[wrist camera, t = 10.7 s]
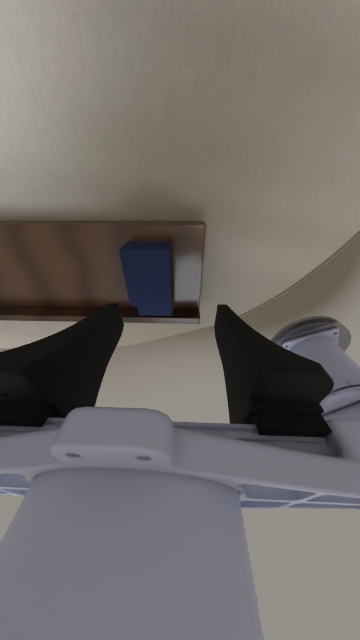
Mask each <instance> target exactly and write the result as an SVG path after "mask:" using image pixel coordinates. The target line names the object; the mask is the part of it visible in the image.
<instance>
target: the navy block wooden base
mask: <svg viewBox="0 0 360 640" xmlns="http://www.w3.org/2000/svg"><path fill="white" fill-rule="evenodd" d="M119 254H120V259H121V264H122V268H123V273H124V278H125V282H126V287H127V292H128V297H129V301H130V306H137V308H138V313H139V315H154V316H172V315H173V309H174V306H175V301H174V262H173V239H136V238H132V239H131V240H130V241H128V242H127V243H126V244H125V245H123V246H122V247H121V248H120V249H119Z"/></svg>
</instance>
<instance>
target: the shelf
mask: <svg viewBox="0 0 360 640" xmlns="http://www.w3.org/2000/svg"><path fill="white" fill-rule="evenodd" d="M205 229H206V224H205V223H204V221H0V320H18V321H76V322H79V321H81V320H83V319H84V318H86V317H88V316H89V315H91V314H93V313H94V312H96V311H97V310H99V309H100V308H102V307H104V306H105V305H107V304H109V303H118V305H119V309H120V312H121V316H122V320H123V322H134V323H192V324H200V312H199V304H200V292H201V279H202V267H203V254H204V242H205ZM132 238H136V239H173V262H174V301H175V306H174V309H173V315H172V316H154V315H139V313H138V308H137V306H130V301H129V297H128V292H127V287H126V282H125V278H124V273H123V268H122V264H121V259H120V254H119V249H120V248H121V247H122V246H123V245H125V244H126V243H127V242H128V241H130V240H131V239H132Z"/></svg>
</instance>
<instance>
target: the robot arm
mask: <svg viewBox="0 0 360 640" xmlns="http://www.w3.org/2000/svg"><path fill="white" fill-rule="evenodd" d="M123 327H124V324H123V320H122V316H121V312H120V309H119V305H118V303H109V304H107V305H105V306H104V307H102V308H100V309H99V310H97V311H96V312H94V313H93V314H91V315H89V316H88V317H86V318H84V319H83V320H81V321H79V322H77V323H76V324H74V325H72V326H70V327H68V328H66V329H64V330H62V331H60V332H58V333H55V334H53V335H51V336H48V337H46V338H43V339H41V340H38V341H35V342H32V343H30V344H26V345H23V346H20V347H17V348H14V349H10V350H7V351H3V352H0V494H9V495H20V496H25V497H24V499H23V501H22V503H21V505H20V507H19V509H18V510H17V512H16V514H15V516H14V518H13V520H12V522H11V523H10V525H9V527H8V529H7V531H6V533H5V534H4V537H3V538H2V540H1V542H0V640H264V639H263V633H262V627H261V621H260V615H259V609H258V604H257V598H256V592H255V586H254V580H253V575H252V569H251V563H250V558H249V552H248V546H247V540H246V534H245V528H244V522H243V516H242V511H241V508H309V509H311V508H312V509H317V508H318V509H352V510H360V367H359V366H358V365H357V364H356V363H355V362H354V361H353V360H352V359H351V358H350V357H349V356H348V355H347V354H346V353H345V352H344V351H343V350H342V349H341V348H340V347H339V346H338V337H339V329H338V328H331V329H328V330H324V331H320V332H317V333H313V334H309V335H306V336H302V337H299V338H295V339H291V340H288V341H284V342H283V343H282V347H281V346H279V345H277V344H276V343H274V342H272V341H270V340H269V339H267V338H265V337H264V336H262V335H261V334H260V333H258V332H257V331H255V330H254V329H253V328H251V327H250V326H249V325H248V324H246V323H245V322H244V321H243V320H242V319H241V318H240V317H239V316H237V315H236V314H235V313H234V312H233V311H232V310H231V309H230V308H229V307H228V306H227V305H218V306H217V313H216V319H215V327H214V328H215V337H216V342H217V346H218V349H219V353H220V357H221V361H222V365H223V370H224V377H225V383H226V391H227V399H228V407H229V417H230V424H224V423H223V424H222V423H195V422H172V420H171V419H170V417H169V416H168V415H166V414H165V413H162V412H160V411H158V410H151V409H144V408H142V409H141V408H114V407H113V408H112V407H95V403H96V399H97V396H98V392H99V389H100V386H101V382H102V379H103V376H104V373H105V370H106V367H107V365H108V363H109V360H110V358H111V356H112V354H113V352H114V350H115V348H116V346H117V344H118V341H119V339H120V337H121V334H122V331H123Z"/></svg>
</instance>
